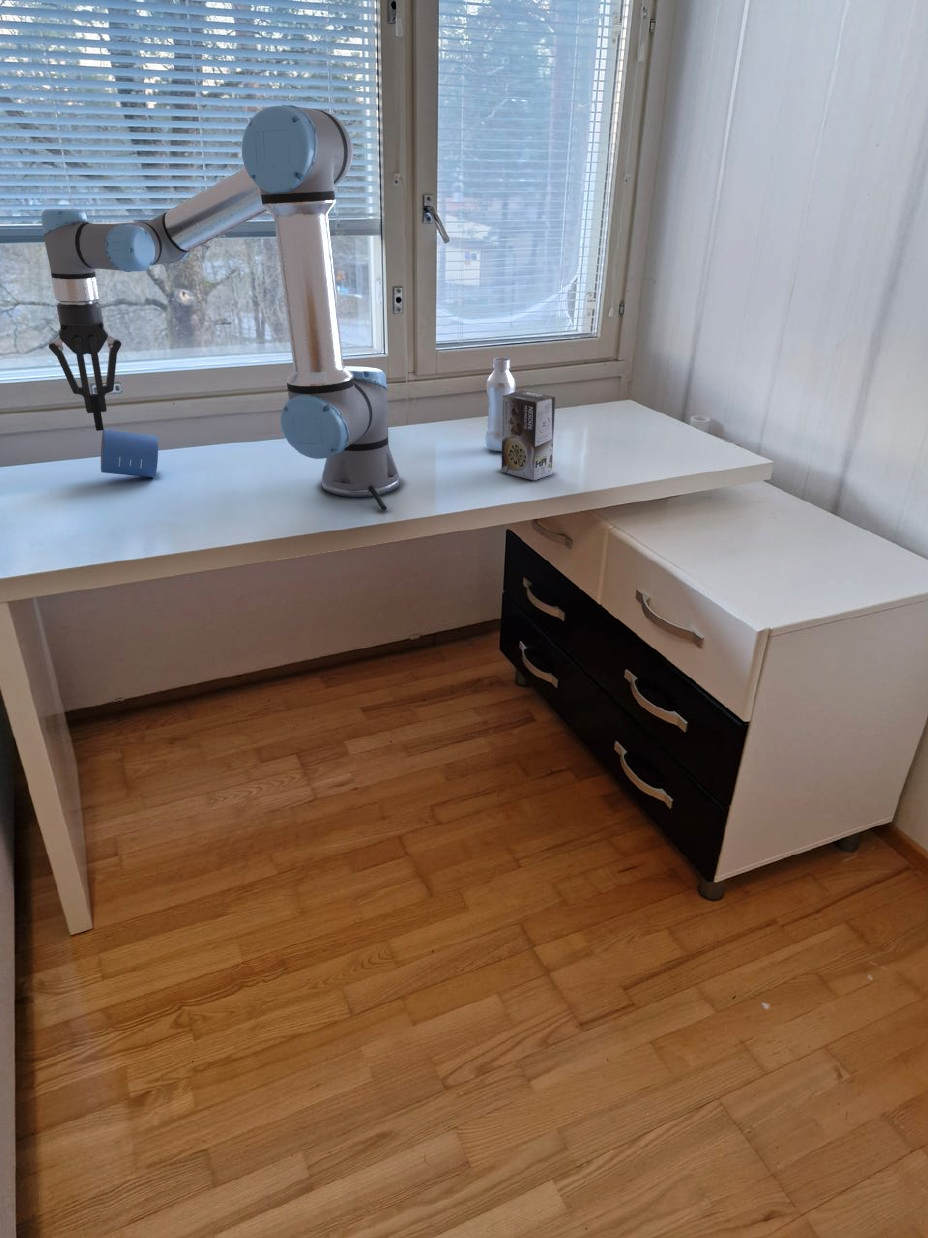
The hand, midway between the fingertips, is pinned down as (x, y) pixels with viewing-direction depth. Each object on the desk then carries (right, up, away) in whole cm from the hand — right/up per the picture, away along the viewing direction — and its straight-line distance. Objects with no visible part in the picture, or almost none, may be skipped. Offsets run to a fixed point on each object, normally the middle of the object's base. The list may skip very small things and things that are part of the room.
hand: (99, 428), depth 170 cm
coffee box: (+84, -7, +11) cm, 85 cm away
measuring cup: (+3, -8, +6) cm, 10 cm away
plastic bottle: (+80, +1, +25) cm, 83 cm away
